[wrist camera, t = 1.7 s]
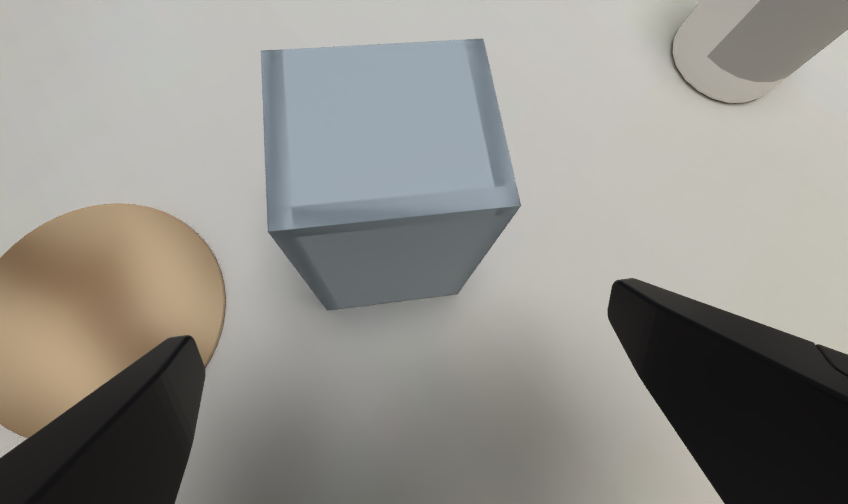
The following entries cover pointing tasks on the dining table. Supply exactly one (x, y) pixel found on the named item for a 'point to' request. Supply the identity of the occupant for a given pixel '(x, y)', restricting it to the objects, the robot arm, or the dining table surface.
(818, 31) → the spray bottle
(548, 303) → the dining table surface
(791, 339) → the robot arm
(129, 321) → the coaster
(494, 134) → the blue-grey open box
